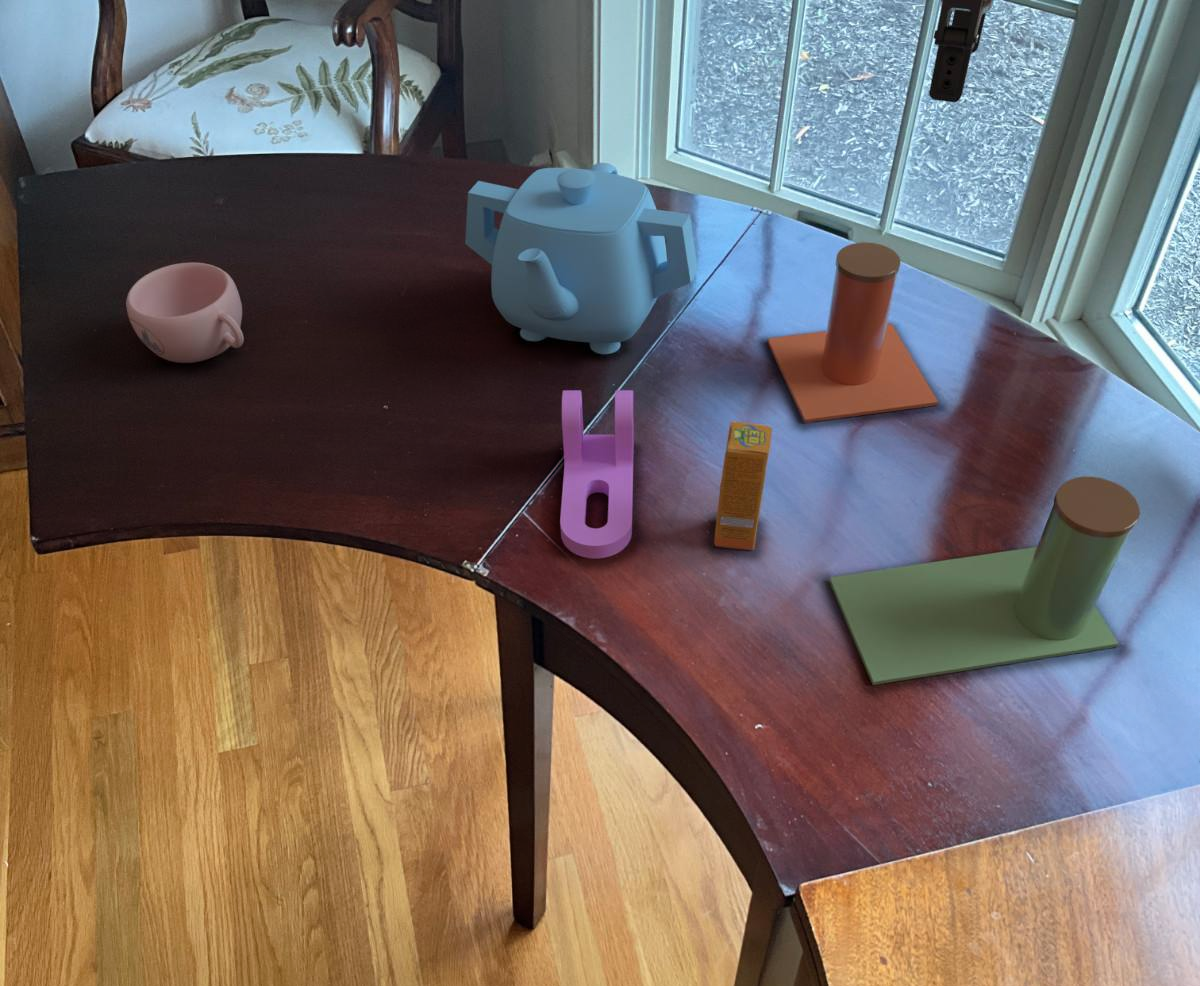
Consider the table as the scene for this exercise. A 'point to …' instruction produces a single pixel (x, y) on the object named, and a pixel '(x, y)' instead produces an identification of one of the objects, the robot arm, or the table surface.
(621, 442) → the bracket
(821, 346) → the terracotta mat
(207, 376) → the table surface
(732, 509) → the supplement box
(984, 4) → the robot arm
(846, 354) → the terracotta canister
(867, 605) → the sage mat
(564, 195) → the teapot
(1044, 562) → the sage canister
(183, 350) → the mug
